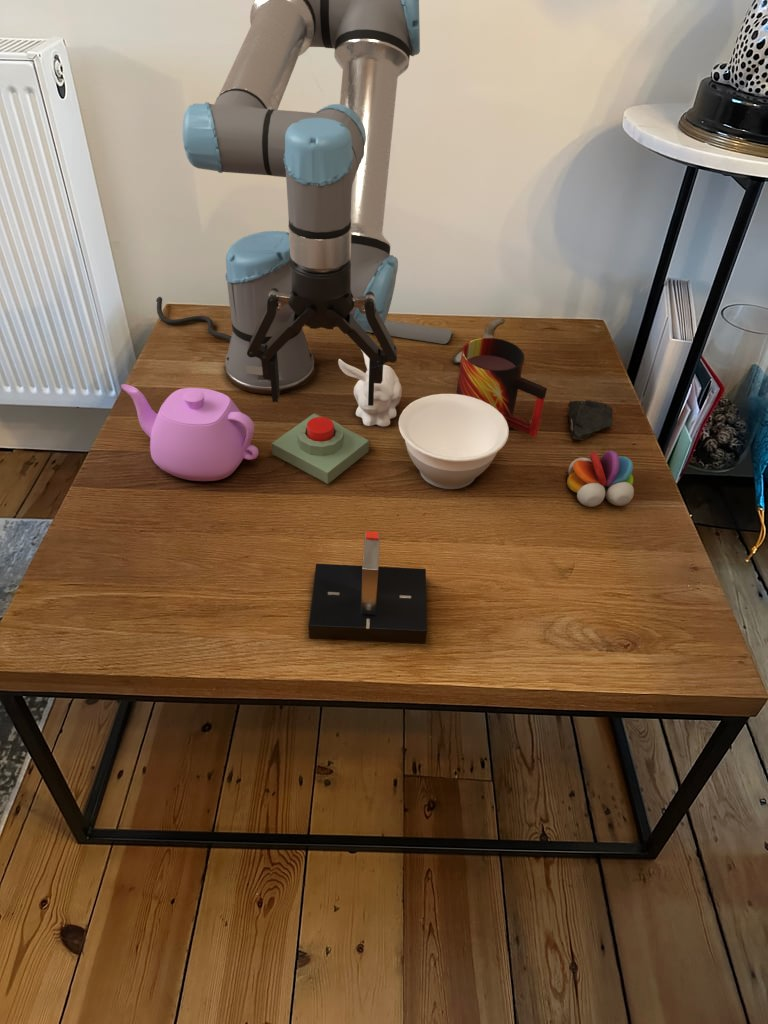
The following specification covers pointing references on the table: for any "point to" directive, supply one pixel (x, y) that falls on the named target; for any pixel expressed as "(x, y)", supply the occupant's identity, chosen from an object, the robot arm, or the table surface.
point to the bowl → (452, 437)
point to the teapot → (196, 433)
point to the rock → (588, 418)
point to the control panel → (395, 606)
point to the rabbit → (375, 394)
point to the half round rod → (417, 332)
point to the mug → (499, 380)
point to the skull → (486, 333)
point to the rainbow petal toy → (602, 479)
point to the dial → (370, 573)
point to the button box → (320, 450)
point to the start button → (320, 429)
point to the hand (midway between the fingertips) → (323, 398)
